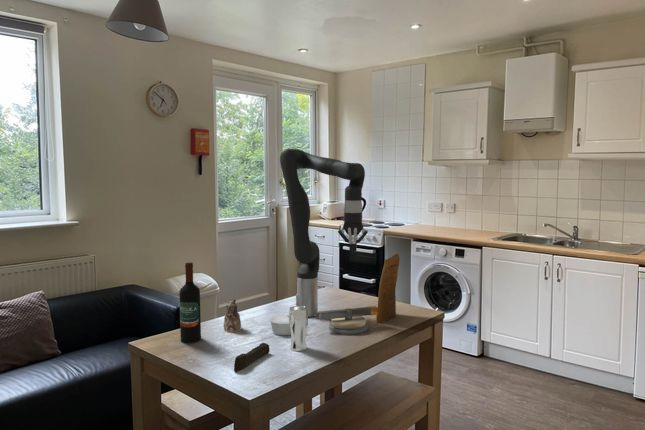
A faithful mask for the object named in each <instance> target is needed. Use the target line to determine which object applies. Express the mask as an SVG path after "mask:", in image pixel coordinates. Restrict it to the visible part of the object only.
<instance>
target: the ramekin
mask: <svg viewBox="0 0 645 430" xmlns="http://www.w3.org/2000/svg"><path fill="white" fill-rule="evenodd" d="M269 322H270V326H271V330H272V333H273V334H275V335H277V336H291V332H290V327H289V315H283V314H282V315H277V316H274V317H272V318H270V321H269Z"/></svg>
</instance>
